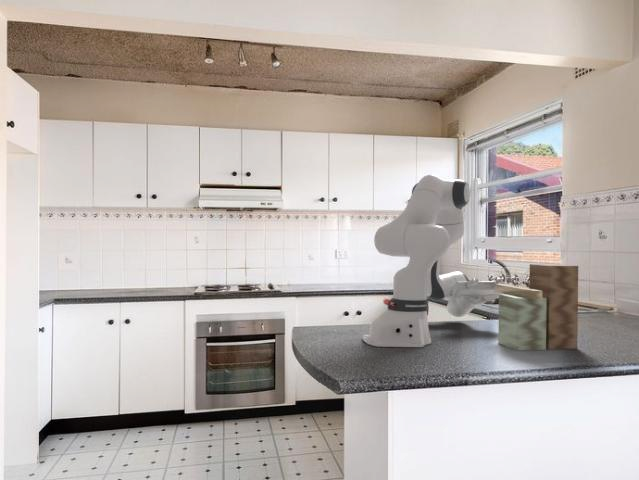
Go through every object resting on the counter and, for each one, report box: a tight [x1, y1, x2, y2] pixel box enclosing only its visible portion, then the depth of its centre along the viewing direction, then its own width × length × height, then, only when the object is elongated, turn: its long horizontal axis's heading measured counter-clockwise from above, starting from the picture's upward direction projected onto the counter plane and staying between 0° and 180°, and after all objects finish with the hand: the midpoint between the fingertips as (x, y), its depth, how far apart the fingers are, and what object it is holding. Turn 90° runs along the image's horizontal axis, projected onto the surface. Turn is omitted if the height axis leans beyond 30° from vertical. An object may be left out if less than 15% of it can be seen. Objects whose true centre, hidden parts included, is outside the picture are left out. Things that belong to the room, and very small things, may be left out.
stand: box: [497, 263, 579, 351], centre depth 146 cm, size 21×10×26 cm, turn 100°
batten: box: [494, 283, 542, 299], centre depth 148 cm, size 3×22×3 cm, turn 10°
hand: (488, 280), depth 165 cm, fingers open, 8 cm apart
